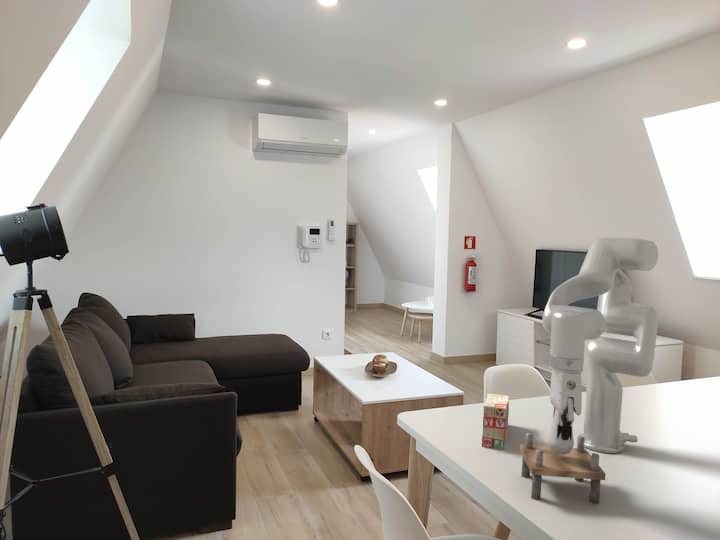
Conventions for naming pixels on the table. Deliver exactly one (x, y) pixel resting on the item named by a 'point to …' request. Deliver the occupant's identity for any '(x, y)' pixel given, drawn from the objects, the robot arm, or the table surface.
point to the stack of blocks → (495, 421)
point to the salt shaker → (559, 438)
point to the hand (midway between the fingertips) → (561, 438)
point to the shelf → (561, 466)
